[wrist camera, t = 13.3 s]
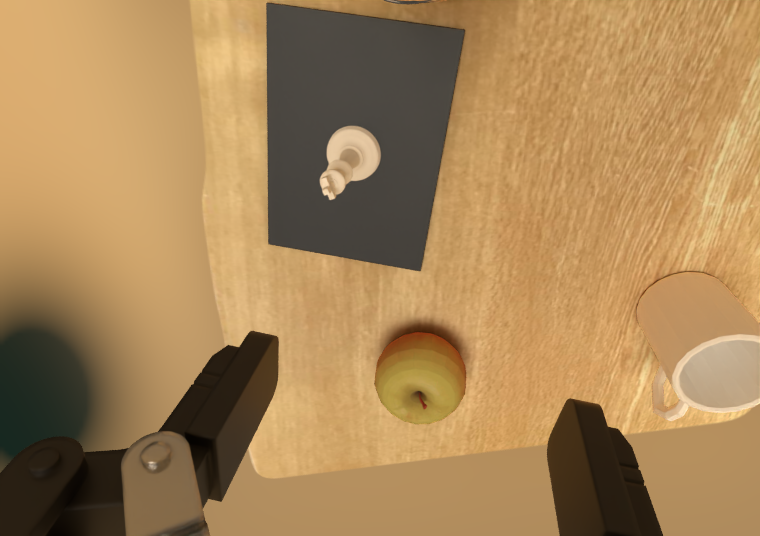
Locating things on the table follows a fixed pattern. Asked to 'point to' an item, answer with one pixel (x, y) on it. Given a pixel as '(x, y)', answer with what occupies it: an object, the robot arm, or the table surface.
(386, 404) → the apple
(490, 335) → the table surface
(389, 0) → the water bottle
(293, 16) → the mat
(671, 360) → the mug
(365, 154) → the chess piece
